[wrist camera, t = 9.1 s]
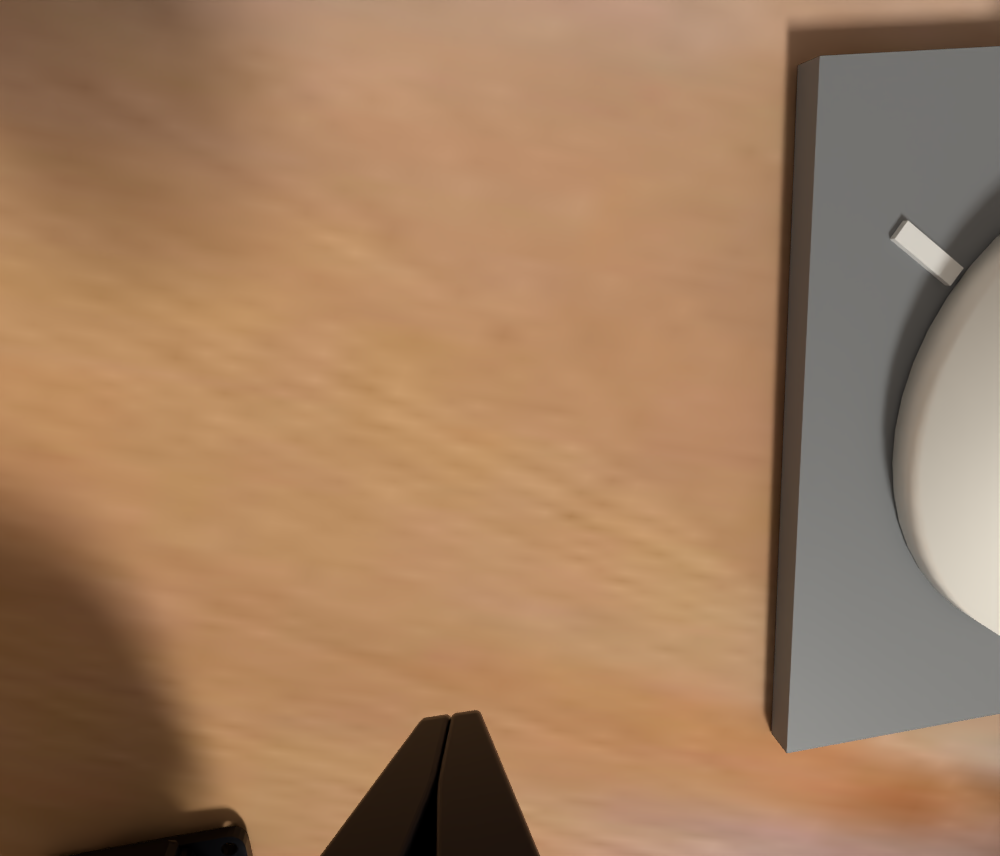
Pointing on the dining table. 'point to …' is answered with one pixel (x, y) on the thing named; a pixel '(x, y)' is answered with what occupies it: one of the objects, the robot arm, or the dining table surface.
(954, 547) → the dial
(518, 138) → the dining table surface
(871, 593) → the dial plate
